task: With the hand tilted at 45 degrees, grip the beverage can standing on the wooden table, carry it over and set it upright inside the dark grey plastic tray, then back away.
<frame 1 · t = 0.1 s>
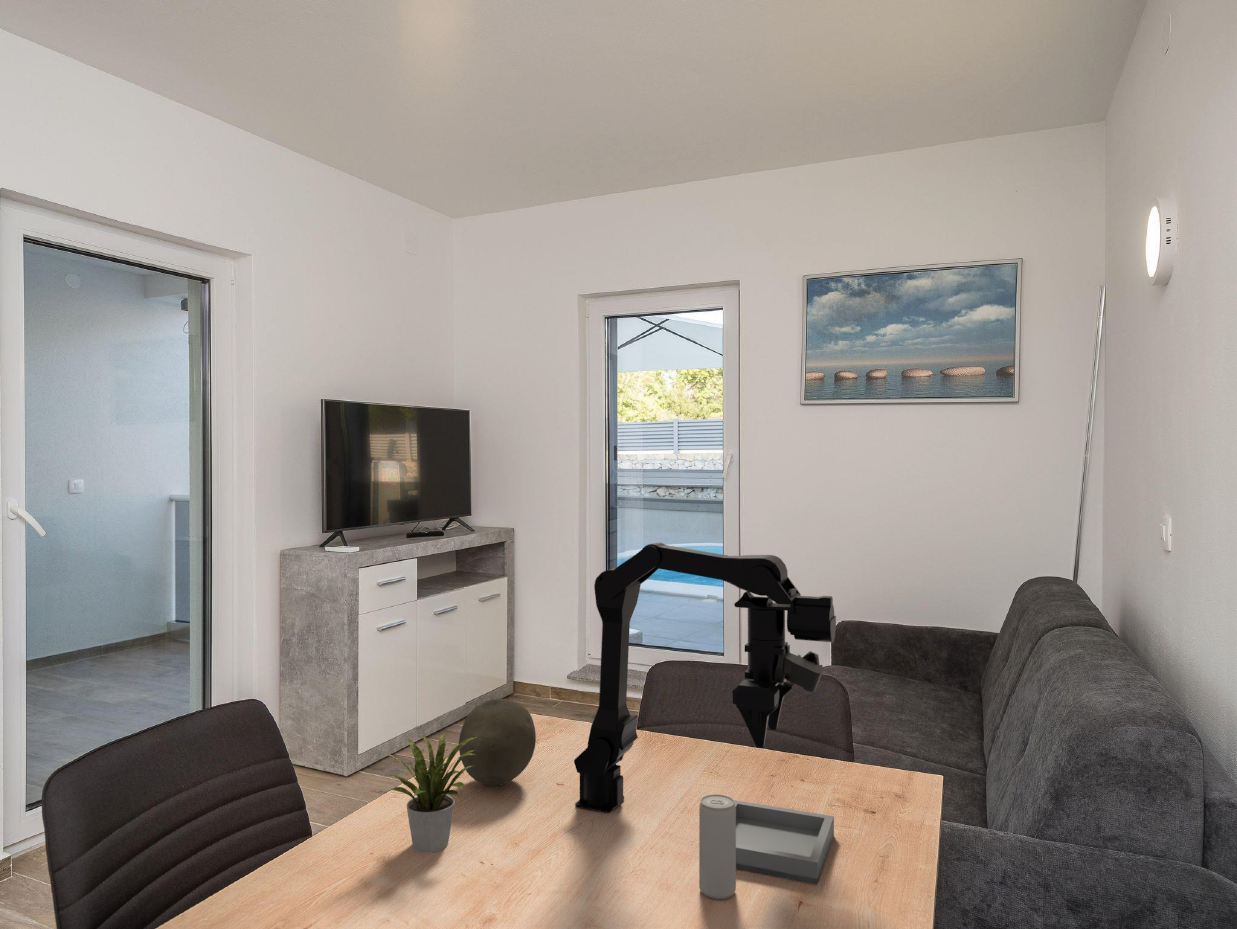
hand: (766, 738, 124), 15 cm above the table, tool pointing down, fingers open, 9 cm apart
beverage can: (717, 893, 106), on the table
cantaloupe: (497, 786, 142), on the table
tray: (771, 848, 118), on the table
house plant: (439, 845, 120), on the table
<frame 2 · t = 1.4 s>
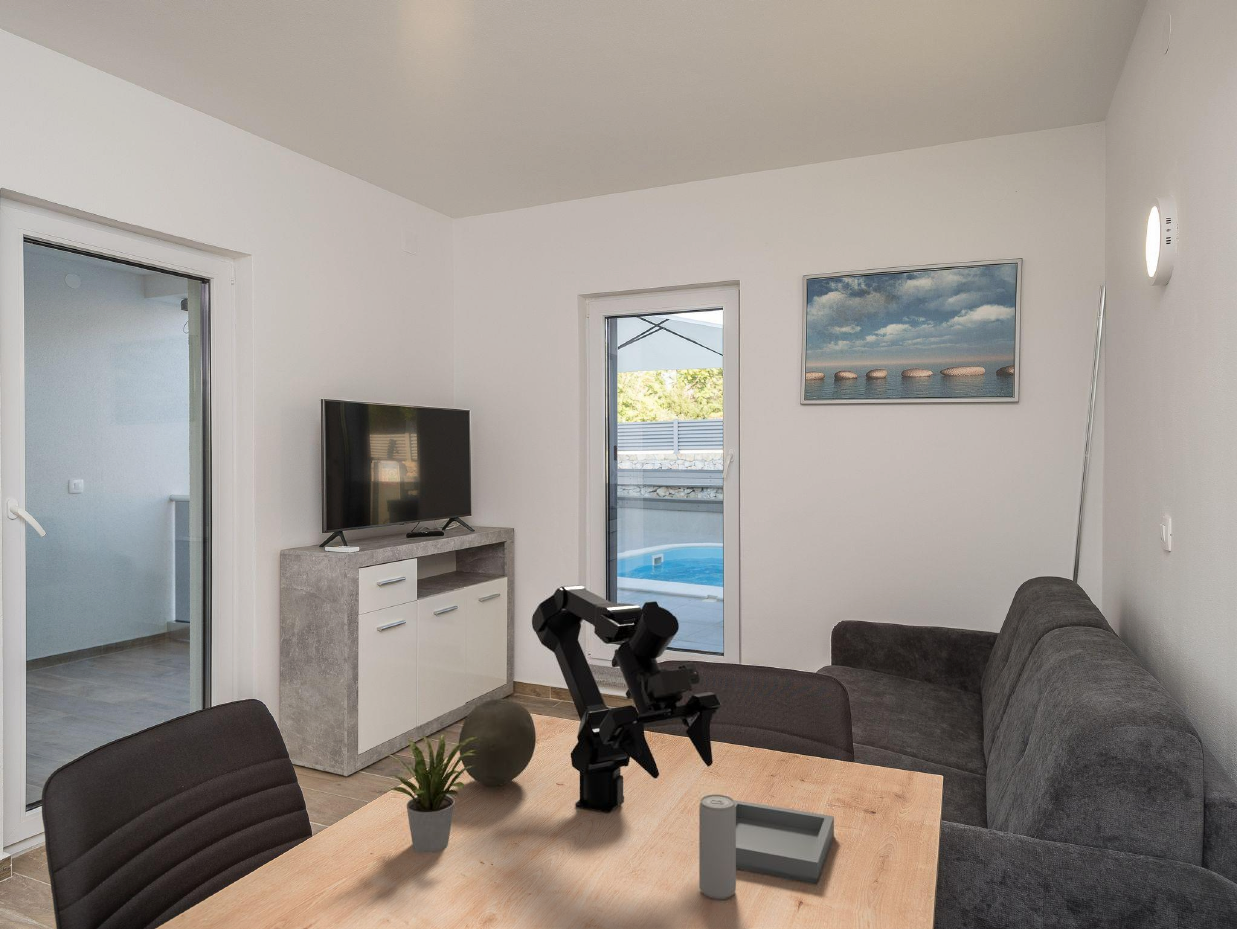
hand: (684, 770, 113), 13 cm above the table, tool tilted 45°, fingers open, 9 cm apart
nothing on the table moved.
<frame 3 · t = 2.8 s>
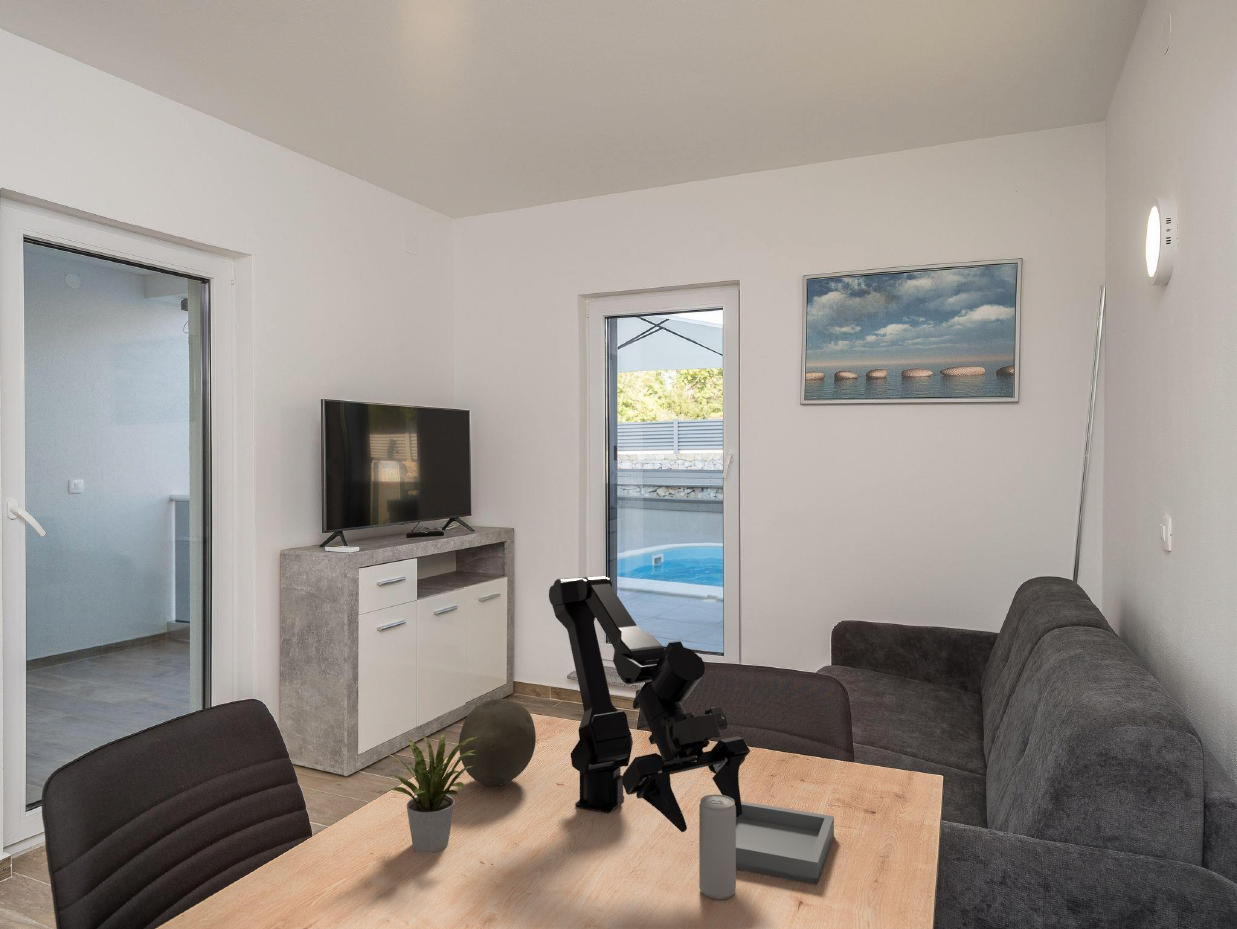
hand: (713, 823, 107), 9 cm above the table, tool tilted 45°, fingers open, 9 cm apart
nothing on the table moved.
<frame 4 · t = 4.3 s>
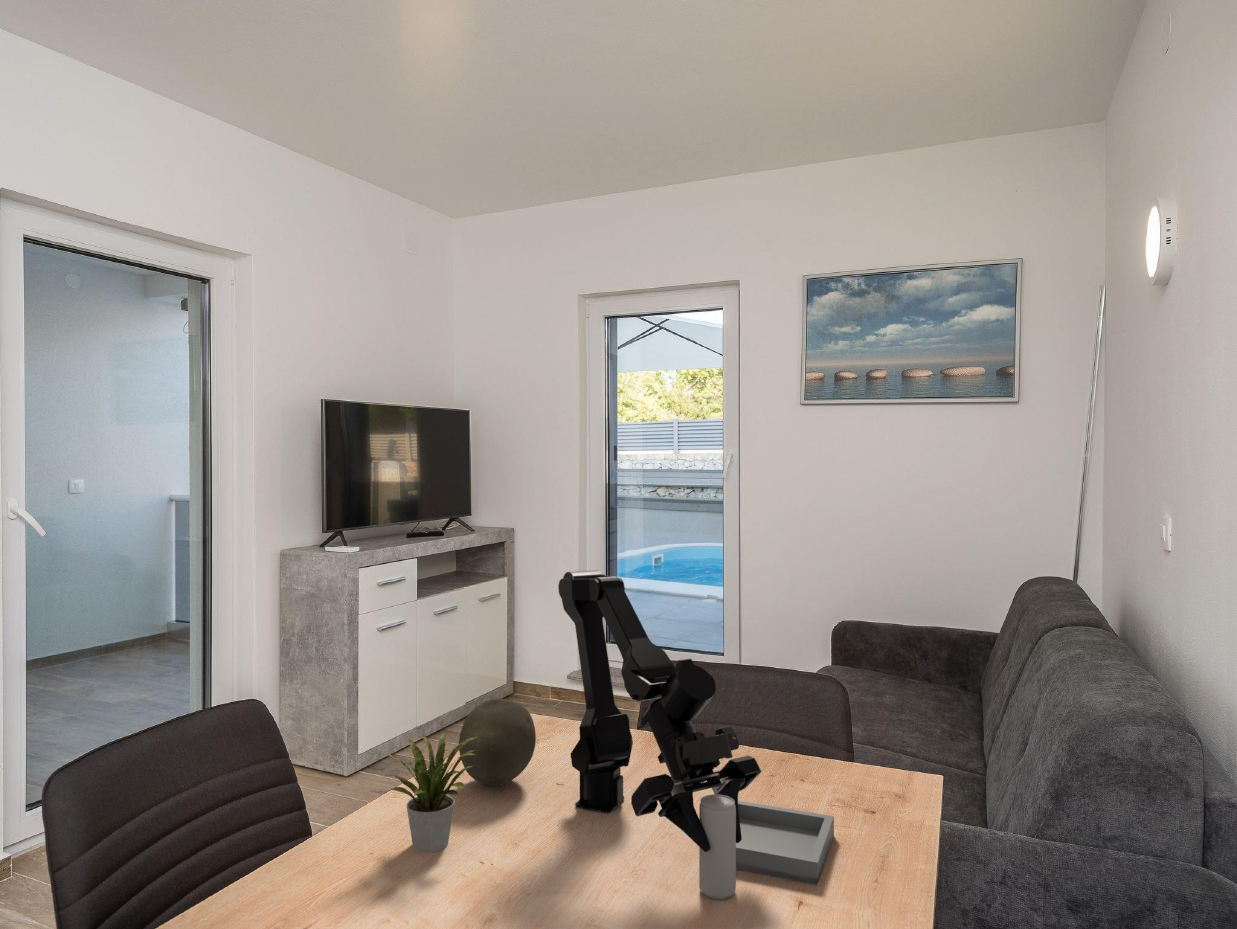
hand: (723, 846, 105), 7 cm above the table, tool tilted 45°, fingers closed on beverage can, 5 cm apart
beverage can: (717, 893, 106), on the table, touching gripper
everything else where it was.
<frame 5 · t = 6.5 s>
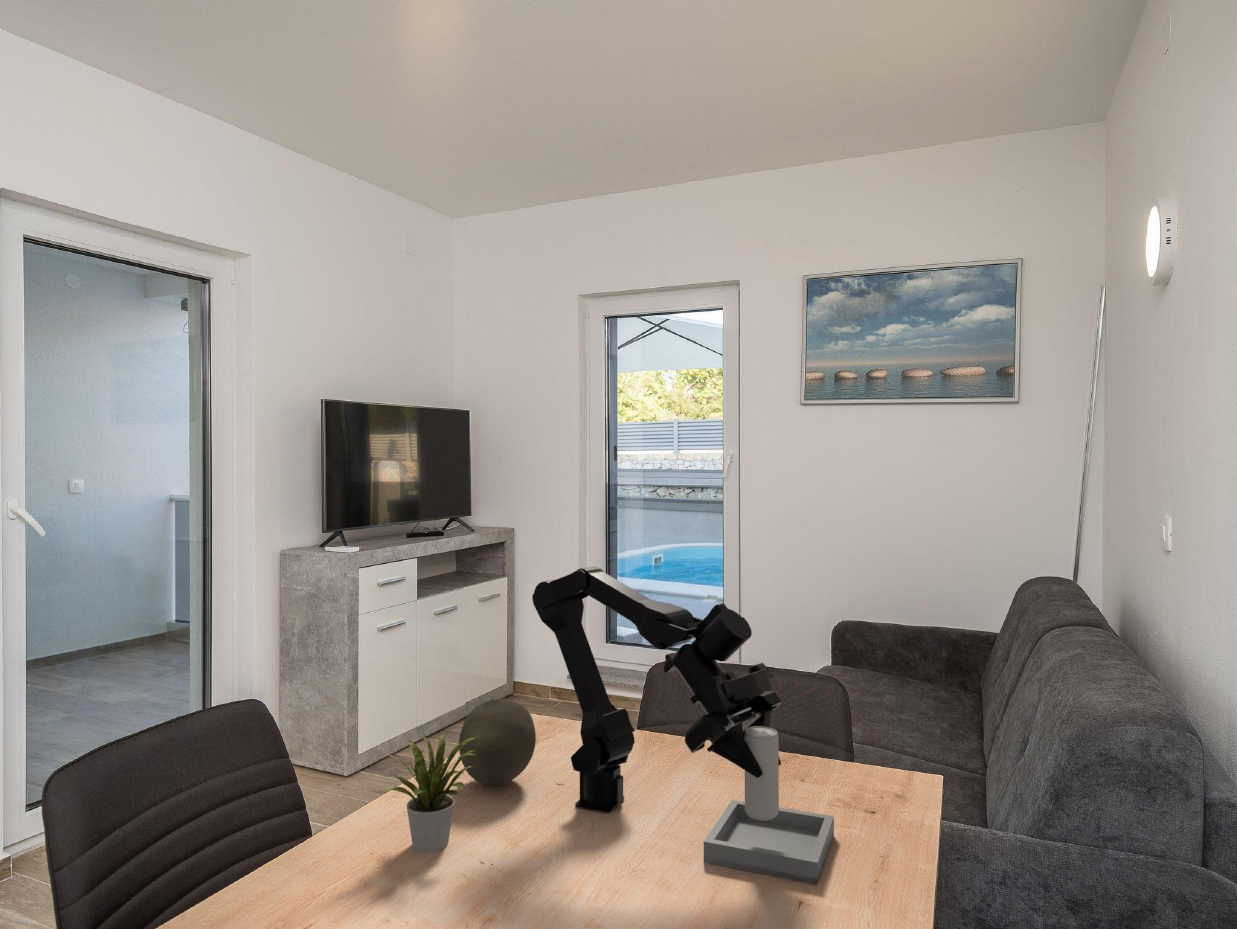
hand: (769, 770, 114), 13 cm above the table, tool tilted 45°, fingers closed on beverage can, 5 cm apart
beverage can: (761, 815, 115), point 6 cm above the table, touching gripper
everything else where it was.
when the fingers open (9 cm above the table, at t = 8.8 s): beverage can drops 1 cm, resting on tray.
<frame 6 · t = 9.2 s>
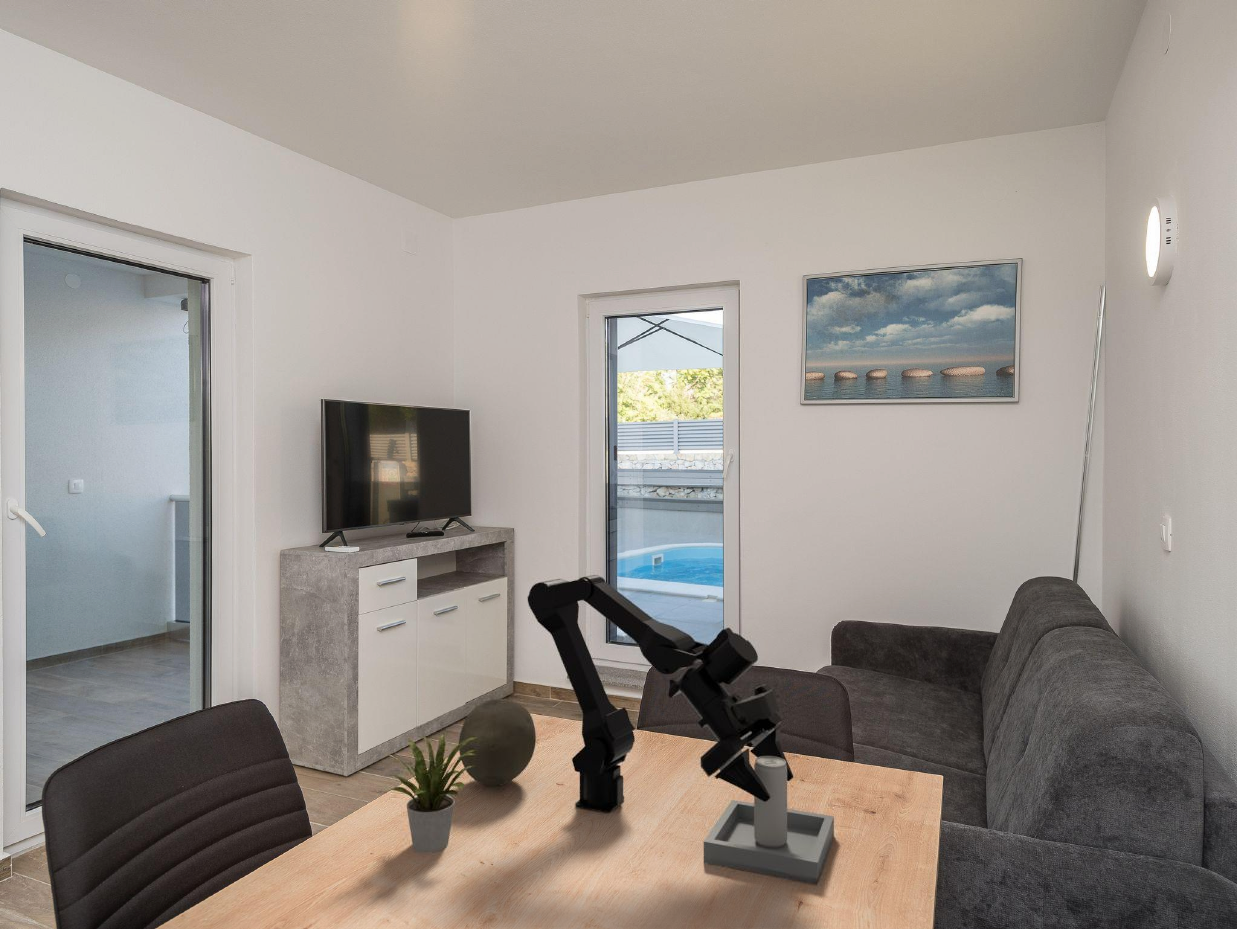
hand: (780, 789, 118), 9 cm above the table, tool tilted 45°, fingers open, 9 cm apart
beverage can: (770, 843, 119), point 1 cm above the table, touching tray
everything else where it was.
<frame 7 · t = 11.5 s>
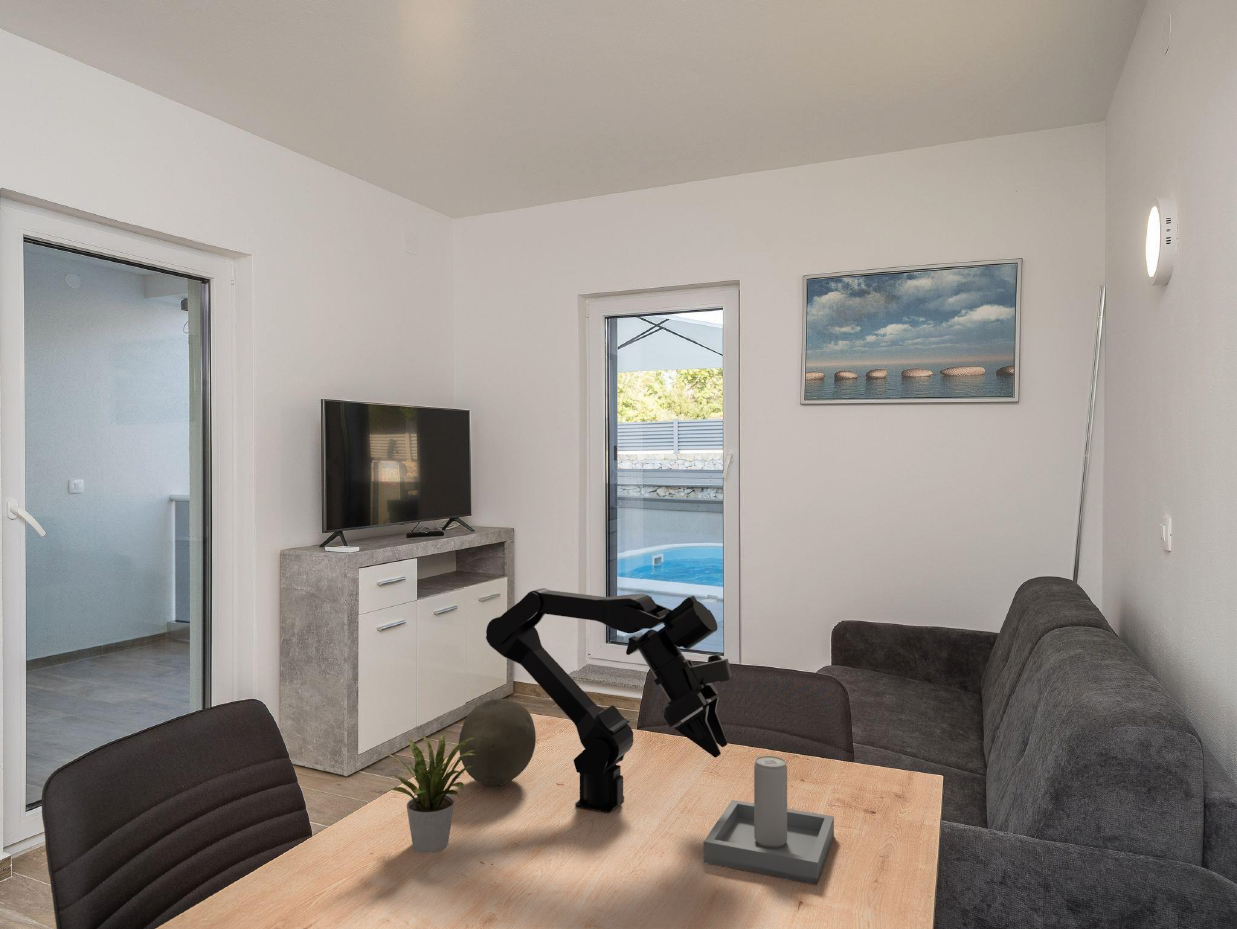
hand: (721, 750, 126), 12 cm above the table, tool tilted 35°, fingers open, 9 cm apart
nothing on the table moved.
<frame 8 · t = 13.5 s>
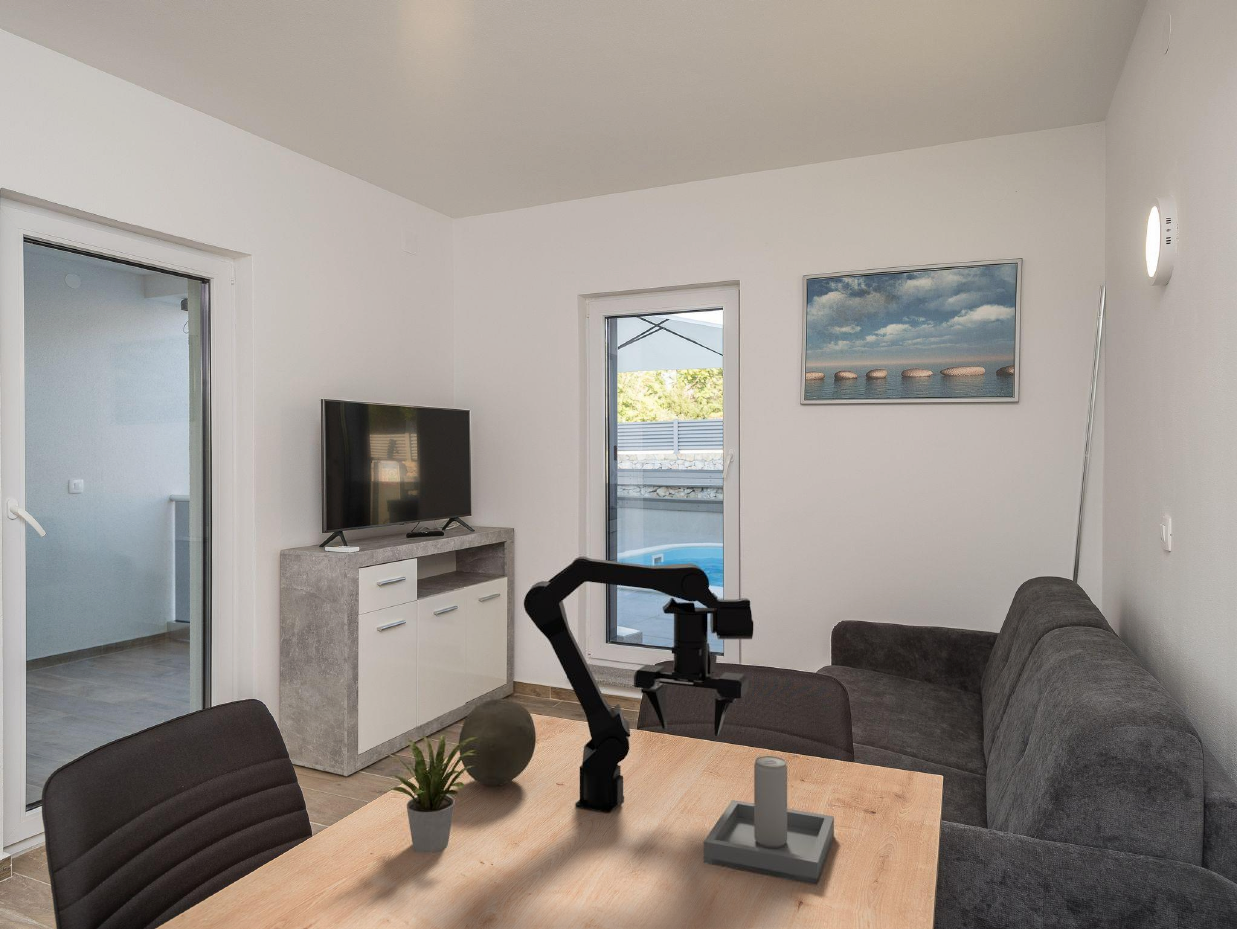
hand: (690, 732, 135), 12 cm above the table, tool pointing down, fingers open, 9 cm apart
nothing on the table moved.
at the end: beverage can inside the target area on the tray (0.4 cm from its centre), point 0.6 cm above the tray's base; beverage can tilted 0°; the gripper is holding nothing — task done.
